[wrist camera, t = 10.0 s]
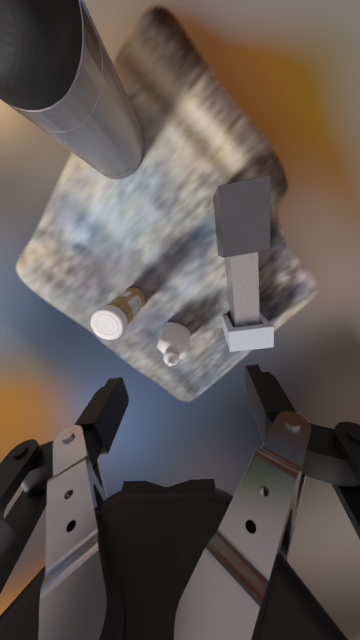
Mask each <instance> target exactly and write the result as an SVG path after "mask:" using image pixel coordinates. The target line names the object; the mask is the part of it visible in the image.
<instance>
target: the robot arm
mask: <svg viewBox="0 0 360 640" xmlns="http://www.w3.org/2000/svg"><path fill="white" fill-rule="evenodd" d="M0 99H1V100H2V101H4V102H5V103H6V104H8V105H9V106H10V107H12V108H13V109H14V110H16V111H17V112H18V113H20V114H21V115H23V116H24V117H25V118H27V119H28V120H29V121H31V122H32V123H34V124H35V125H36V126H38V127H39V128H40V129H42V130H43V131H44V132H46V133H47V134H48V135H50V136H51V137H52V138H54V139H55V140H57V141H58V142H59V143H61V144H62V145H63V146H65V147H66V148H67V149H69V150H70V151H71V152H73V153H74V154H75V155H77V156H78V157H79V158H81V159H82V160H84V161H85V162H86V163H88V164H89V165H90V166H92V167H93V168H94V169H96V170H97V171H98V172H100V173H101V174H103V175H104V176H106V177H109V178H112V179H122V178H125V177H128V176H129V175H131V174H132V173H133V172H134V171H135V170H136V169H137V167H138V166H139V164H140V162H141V159H142V156H143V151H144V136H143V131H142V128H141V125H140V123H139V120H138V118H137V116H136V114H135V112H134V109H133V107H132V105H131V103H130V100H129V98H128V96H127V94H126V92H125V90H124V87H123V85H122V83H121V81H120V79H119V77H118V74H117V72H116V70H115V68H114V66H113V63H112V61H111V59H110V57H109V55H108V53H107V50H106V48H105V46H104V44H103V42H102V40H101V37H100V35H99V33H98V31H97V29H96V27H95V24H94V22H93V20H92V18H91V16H90V14H89V11H88V9H87V8H86V5H85V3H84V1H83V0H0ZM245 383H246V391H247V395H248V398H249V401H250V404H251V407H252V409H253V413H254V415H255V418H256V421H257V424H258V427H259V430H260V433H261V436H262V438H263V441H264V444H263V446H262V448H261V449H257V450H256V451H255V453H254V455H253V457H252V459H251V461H250V463H249V465H248V467H247V469H246V471H245V473H244V476H243V478H242V480H241V482H240V484H239V486H238V488H237V490H236V492H235V494H234V497H233V496H232V495H230V494H229V493H227V492H225V491H223V490H221V489H218V488H215V482H214V479H202V480H201V479H200V480H189V481H186V482H183V483H180V484H177V485H174V486H171V487H163V486H160V485H157V484H153V483H150V482H147V481H127V482H126V481H125V482H124V484H123V487H122V491H119V492H117V493H115V494H113V495H112V496H110V497H108V498H107V495H106V491H105V487H104V483H103V479H102V475H101V470H100V467H99V463H98V461H97V459H98V457H99V455H100V454H108V452H109V450H110V447H111V445H112V442H113V440H114V438H115V435H116V433H117V430H118V428H119V425H120V423H121V420H122V418H123V415H124V413H125V411H126V408H127V406H128V401H129V397H128V393H127V390H126V387H125V384H124V381H123V379H122V378H121V377H118V378H110V379H109V380H108V381H107V383H106V385H105V386H104V387H101V388H100V389H99V390H98V391H97V392H96V393H95V394H94V396H93V397H92V399H91V400H90V402H89V404H88V406H86V408H85V409H84V411H83V413H82V414H81V416H80V417H79V419H78V420H77V422H76V423H75V425H73V426H70V427H68V428H66V429H65V430H63V431H62V432H60V433H59V434H58V435H57V437H56V438H55V440H54V441H51V442H48V443H46V444H43V445H40V446H39V444H38V443H37V441H36V440H33V439H31V440H27V441H24V442H22V443H21V444H19V445H17V446H16V447H15V448H14V449H12V450H11V451H10V452H9V453H8V455H7V456H6V457H5V458H4V459H3V461H2V462H1V463H0V593H1V591H2V589H3V587H4V585H5V583H6V582H7V580H8V578H9V576H10V574H11V572H12V570H13V568H14V566H15V564H16V562H17V561H18V558H19V557H20V555H21V553H22V551H23V549H24V547H25V545H26V543H27V541H28V539H29V537H30V535H31V534H32V532H33V530H34V528H35V526H36V524H37V522H38V520H39V518H40V516H41V514H42V512H43V510H44V509H45V506H46V505H47V511H46V513H47V514H46V517H47V518H46V562H45V564H46V565H45V566H44V567H43V568H42V570H41V571H40V572H39V573H38V574H37V575H36V576H35V577H34V578H33V580H32V581H31V582H30V583H29V584H28V585H27V586H26V587H25V589H24V590H23V591H22V592H21V593H20V594H19V595H18V597H17V598H16V599H15V600H14V601H13V602H12V603H11V604H10V606H8V608H7V609H6V610H5V611H4V612H3V613H2V614H1V615H0V640H348V639H347V638H346V636H345V635H344V634H343V632H342V631H341V630H340V629H339V628H338V626H337V625H336V624H335V622H334V621H333V620H332V618H331V617H330V616H329V615H328V613H327V612H326V611H325V609H324V608H323V607H322V606H321V604H320V603H319V602H318V601H317V599H316V598H315V597H314V595H313V594H312V593H311V591H310V590H309V589H308V588H307V586H306V585H305V584H304V582H303V581H302V580H301V579H300V577H299V576H298V575H297V574H296V572H295V571H294V570H293V568H292V567H291V566H290V565H289V563H288V562H287V559H288V555H289V551H290V546H291V542H292V537H293V533H294V528H295V521H296V517H297V512H298V508H299V503H300V499H301V495H302V491H303V487H304V482H305V478H306V476H308V477H311V478H315V479H318V480H322V481H325V482H328V483H331V484H332V486H333V488H334V490H335V491H336V494H337V496H338V497H339V499H340V501H341V503H342V505H343V507H344V509H345V511H346V513H347V515H348V517H349V519H350V521H351V523H352V525H353V527H354V529H355V531H356V533H357V535H358V536H359V539H360V425H358V424H356V423H351V422H341V423H338V424H337V425H336V426H335V429H332V428H327V427H322V426H317V425H314V424H311V423H309V422H308V420H307V419H306V418H305V417H303V416H302V415H300V414H298V413H297V412H296V411H295V409H294V408H293V406H292V404H291V403H290V401H289V399H288V397H287V396H286V394H285V392H284V391H283V389H282V388H281V386H280V385H279V382H278V381H277V379H276V378H275V377H274V376H273V375H272V374H270V373H269V372H262V371H261V370H260V368H259V366H258V365H257V364H256V365H247V366H245ZM19 487H21V488H22V489H23V491H22V493H21V494H20V496H19V497H18V499H17V501H16V502H15V503H14V505H13V507H12V508H11V510H10V511H9V513H8V514H7V516H6V518H5V519H4V517H3V516H4V511H5V508H6V506H7V504H8V503H9V502H10V500H11V499H12V497H13V496H14V494H15V493H16V491H17V490H18V488H19Z"/></svg>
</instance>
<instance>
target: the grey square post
mask: <svg viewBox="0 0 360 640" xmlns="http://www.w3.org/2000/svg"><path fill="white" fill-rule="evenodd" d="M226 267H227V280H228V292H229V305H230V318H231V324H232V326H233V328H235V327H243V326H251V325H260V321H259V271H258V252H255V253H249V254H243V255H237V256H231V257H226Z"/></svg>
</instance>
